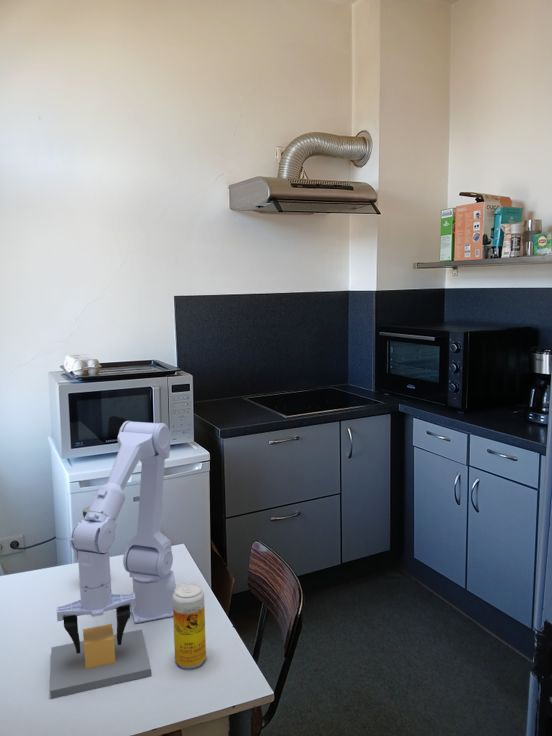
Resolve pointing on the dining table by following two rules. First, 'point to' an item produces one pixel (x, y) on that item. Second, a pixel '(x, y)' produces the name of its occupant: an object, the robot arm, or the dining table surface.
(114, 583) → the dining table surface
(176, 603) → the beer can
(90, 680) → the post board
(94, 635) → the orange cube
